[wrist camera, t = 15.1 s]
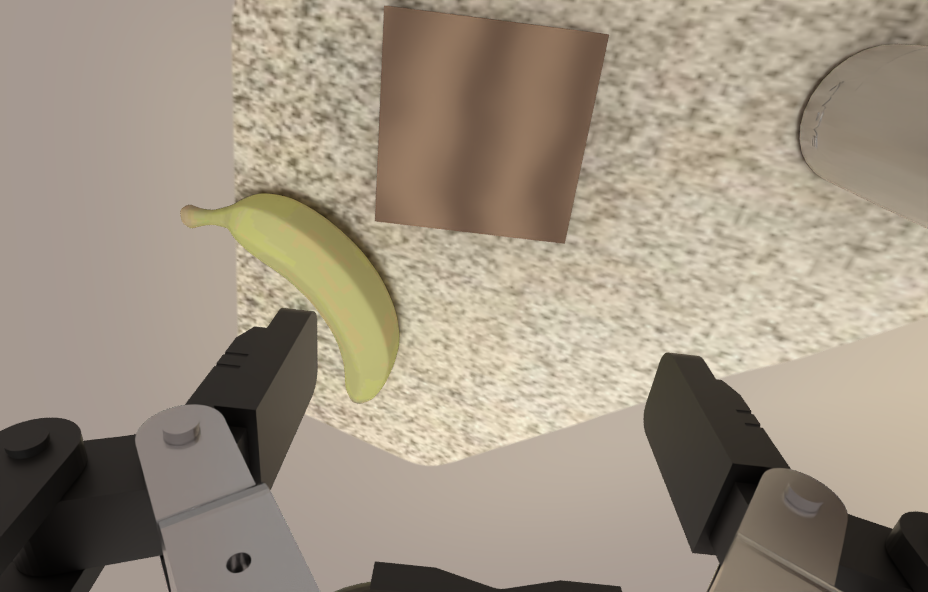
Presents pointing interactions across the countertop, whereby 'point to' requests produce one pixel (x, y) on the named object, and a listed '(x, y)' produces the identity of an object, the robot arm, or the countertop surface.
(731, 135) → the countertop surface
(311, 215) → the banana
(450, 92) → the walnut board
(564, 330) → the countertop surface
